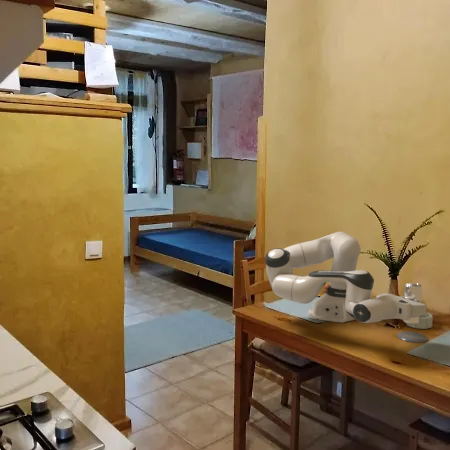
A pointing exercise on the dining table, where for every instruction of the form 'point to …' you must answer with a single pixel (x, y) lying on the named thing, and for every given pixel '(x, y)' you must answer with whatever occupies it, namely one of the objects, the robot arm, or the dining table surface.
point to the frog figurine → (322, 290)
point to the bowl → (423, 322)
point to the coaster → (412, 337)
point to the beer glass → (412, 297)
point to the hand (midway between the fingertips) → (413, 300)
